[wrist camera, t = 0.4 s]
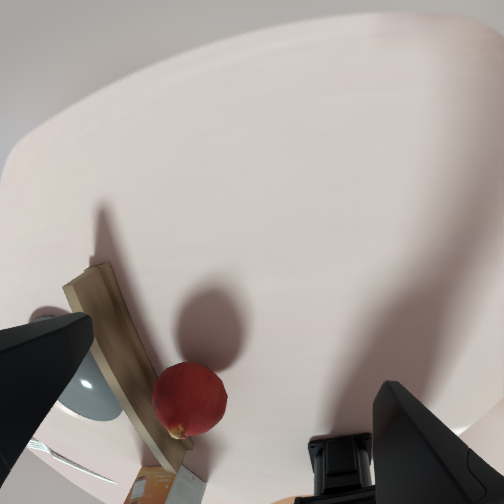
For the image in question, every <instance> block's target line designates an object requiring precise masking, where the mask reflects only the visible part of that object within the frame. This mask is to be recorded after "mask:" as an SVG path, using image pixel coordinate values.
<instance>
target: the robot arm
mask: <svg viewBox="0 0 504 504" xmlns="http://www.w3.org/2000/svg"><path fill="white" fill-rule="evenodd" d="M93 341H94V331H93V321H92V317H91V316H90V315H89V314H86V313H84V312H75V313H71V314H67V315H63V316H59V317H55V318H50V319H46V320H42V321H38V322H33V323H29V324H25V325H21V326H16V327H12V328H8V329H3V330H0V488H1V486H2V484H3V483H4V481H5V479H6V478H7V476H8V475H9V473H10V471H11V469H12V468H13V466H14V464H15V463H16V461H17V460H18V458H19V456H20V455H21V453H22V452H23V450H24V449H25V447H26V446H27V444H28V442H29V441H30V439H31V438H32V436H33V435H34V433H35V432H36V430H37V429H38V427H39V426H40V424H41V423H42V421H43V420H44V418H45V417H46V415H47V414H48V413H49V411H50V410H51V408H52V407H53V405H54V404H55V402H56V401H57V400H58V398H59V397H60V395H61V394H62V393H63V391H64V390H65V388H66V387H67V386H68V384H69V383H70V381H71V380H72V378H73V377H74V375H75V373H76V372H77V370H78V368H79V366H80V365H81V363H82V361H83V359H84V358H85V356H86V354H87V353H88V351H89V349H90V347H91V346H92V344H93ZM372 447H373V462H374V473H375V485H372V482H371V474H370V465H371V448H372ZM308 450H309V455H310V459H311V464H312V469H313V473H314V496H310V497H296V498H295V502H294V504H504V476H503V475H501V474H500V473H499V472H497V471H496V470H495V469H494V468H492V467H491V466H490V465H489V464H487V463H486V462H485V461H484V460H483V459H482V458H481V457H479V456H478V455H477V454H476V453H475V452H474V451H473V450H472V449H471V448H469V447H468V446H467V445H466V444H465V443H464V442H463V441H462V440H461V439H460V438H459V437H458V436H457V435H456V434H454V433H453V432H452V431H451V430H450V429H449V428H448V427H447V426H446V425H445V424H444V423H443V422H441V421H440V420H439V419H438V418H437V417H436V416H435V415H434V414H433V413H432V412H431V411H430V410H428V409H427V408H426V407H425V406H424V405H423V404H422V403H421V402H420V401H419V400H418V399H416V398H415V397H414V396H413V395H412V394H411V393H410V392H409V391H408V390H407V389H406V388H405V387H403V386H402V385H401V384H400V383H399V382H397V381H389V380H386V381H384V383H383V384H382V386H381V388H380V390H379V392H378V394H377V396H376V398H375V400H374V402H373V441H372V436H371V434H370V433H364V434H359V435H353V436H347V437H340V438H334V439H326V440H318V441H311V442H309V443H308Z"/></svg>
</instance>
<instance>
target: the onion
mask: <svg viewBox="0 0 504 504" xmlns="http://www.w3.org/2000/svg"><path fill="white" fill-rule="evenodd" d="M227 397H228V396H227V393H226V391H225V388H224V385H223V382H222V380H221V379H220V378H219V377H218V376H217V375H216V374H215V373H214V372H212V371H211V370H209V369H208V368H206V367H205V366H202V365H199V364H197V363H192V362H182V363H179V364H176V365H173V366H171V367H169V368H167V369H166V370H165V371H164V372H163V373H162V374H161V376H160V377H159V378H158V379H157V380H156V382H155V385H154V387H153V397H152V405H153V409H154V412H155V414H156V416H157V418H158V420H159V421H160V423H161V424H162V425H163V426H164V427H165V428H166V429H167V430H168V432H169V434H170V435H171V437H173V438H175V439H183V438H184V439H185V436H195V435H199V434H202V433H204V432H207V431H209V430H210V429H211V428H213V427H214V426H215V425H216V424H217V423H218V422H219V421H220V420H221V419H222V418H223V415H224V413H225V410H226V404H227Z"/></svg>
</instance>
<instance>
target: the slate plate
mask: <svg viewBox="0 0 504 504" xmlns="http://www.w3.org/2000/svg"><path fill="white" fill-rule="evenodd" d="M55 317H57V316H51V315H46V316H41V317H39V318H37V319H36V320H35V321H34V322H38V321H42V320H46V319H50V318H55ZM32 323H33V322H32ZM58 401H59V402H60V403H62V404H63V405H64V406H66V407H67V408H68V409H70V410H72V411H73V412H75V413H77V414H79V415H81V416H83V417H86V418H88V419H92V420H96V421H110V420H113V419H115V418H117V417H118V416H119V415H120V413H121V412H122V410H123V408H122V407H121V405H120V403H119V402H118V400H117V398H116V397H115V395H114V393H113V391H112V390H111V388H110V386H109V385H108V383H107V381H106V379H105V377H104V376H103V374H102V372H101V370H100V368H99V366H98V364H97V362H96V360H95V359H94V357H93V355H92V353H91V351H90V349H89V351H88V353H87V354H86V356H85V358H84V359H83V361H82V363H81V365H80V366H79V368H78V370H77V372H76V373H75V375H74V377H73V378H72V380H71V381H70V383H69V384H68V386H67V387H66V388H65V390H64V391H63V393H62V394H61V395H60V397H59V398H58Z"/></svg>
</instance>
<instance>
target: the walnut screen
mask: <svg viewBox="0 0 504 504" xmlns="http://www.w3.org/2000/svg"><path fill="white" fill-rule="evenodd" d="M62 288H63V290H64V293H65V295H66V298H67V300H68V303H69V305H70V307H71V310H72V312H73V313H75V312H84V313H86V314H89V315H90V316H91V317H92V321H93V331H94V341H93V344H92V346H91V347H90V351H91V353H92V355H93V357H94V359H95V360H96V362H97V364H98V366H99V368H100V370H101V372H102V374H103V376H104V377H105V379H106V381H107V383H108V385H109V386H110V388H111V390H112V391H113V393H114V395H115V397H116V398H117V400H118V402H119V403H120V405H121V407H122V408H123V410H124V411H125V413H126V415H127V416H128V418H129V419H130V421H131V423H132V424H133V426H134V427H135V429H136V430H137V432H138V433H139V435H140V436H141V438H142V439H143V441H144V442H145V443H146V445H147V446H148V448H149V449H150V450H151V452H152V453H153V455H154V456H155V457H156V459H157V460H158V461H159V463H160V464H161V465H162V467H163V468H164V469H165V471H166V472H167V473H169V474H177V475H178V472H179V469H180V467H181V464H182V462H183V459H184V456H185V454H186V451H187V450H192V448H193V446H194V445H193V443H192V441H191V439H190V438H189V436H185V439H184V438H183V439H175V438H173V437H171V435H170V434H169V432H168V430H167V429H166V428H165V427H164V426H163V425H162V424H161V423H160V421H159V420H158V418H157V416H156V414H155V412H154V409H153V405H152V397H153V387H154V385H155V382H156V380H157V379H158V378H157V376H156V374H155V372H154V369H153V367H152V365H151V363H150V361H149V359H148V357H147V354H146V352H145V350H144V348H143V346H142V343H141V341H140V339H139V337H138V334H137V332H136V330H135V327H134V325H133V322H132V320H131V318H130V315H129V313H128V310H127V308H126V305H125V303H124V300H123V297H122V295H121V292H120V290H119V287H118V284H117V282H116V279H115V276H114V273H113V270H112V268H111V265H110V262H109V263H105V264H100V265H96V266H91V267H88V268H87V269H85V270H84V273H82V274H81V275H79V276H78V277H76V278H75V279H73V280H72V281H70V282H69V283H67V284H66V285H64V286H63V287H62Z"/></svg>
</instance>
